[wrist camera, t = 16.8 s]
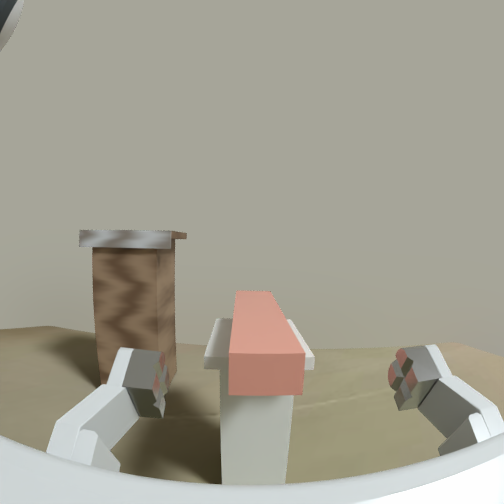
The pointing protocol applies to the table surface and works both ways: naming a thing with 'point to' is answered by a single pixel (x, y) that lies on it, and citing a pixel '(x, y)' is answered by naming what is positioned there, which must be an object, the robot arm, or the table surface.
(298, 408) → the table surface
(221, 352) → the stand
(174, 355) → the brown pedestal
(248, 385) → the salmon pink flat bar
